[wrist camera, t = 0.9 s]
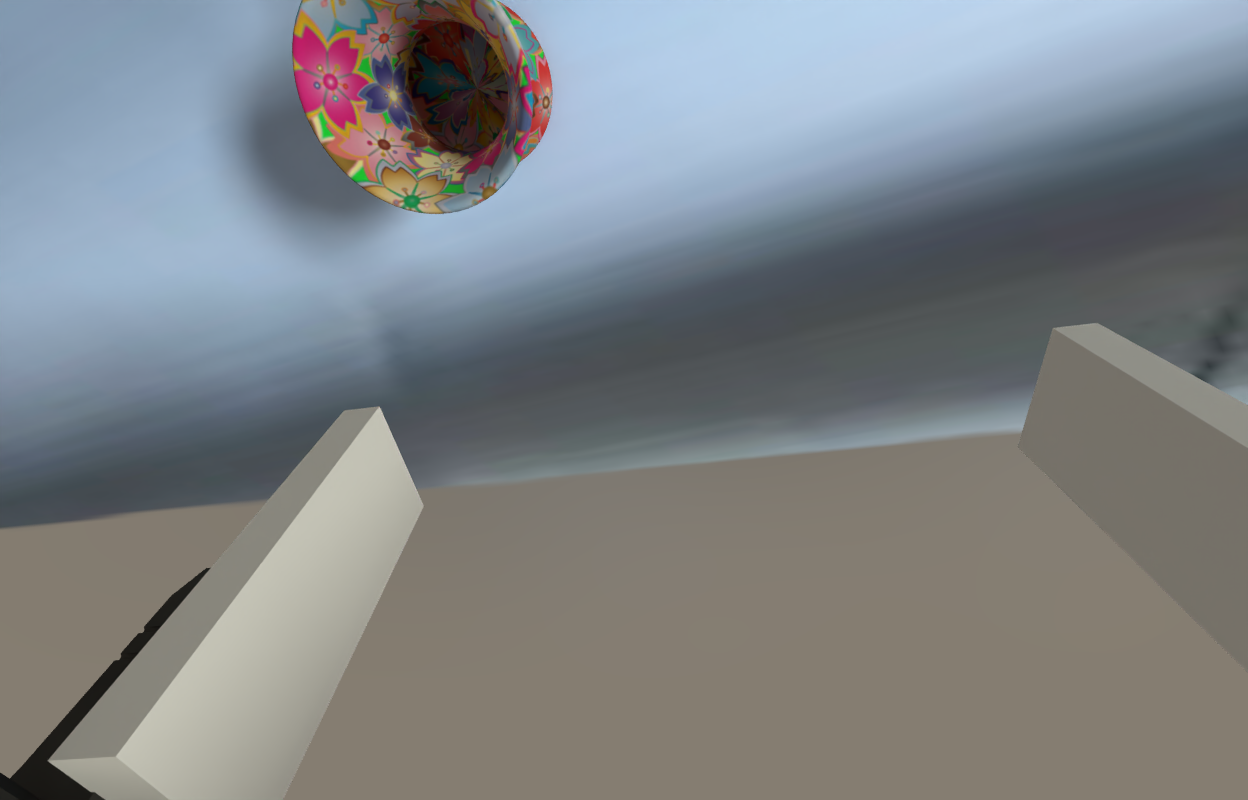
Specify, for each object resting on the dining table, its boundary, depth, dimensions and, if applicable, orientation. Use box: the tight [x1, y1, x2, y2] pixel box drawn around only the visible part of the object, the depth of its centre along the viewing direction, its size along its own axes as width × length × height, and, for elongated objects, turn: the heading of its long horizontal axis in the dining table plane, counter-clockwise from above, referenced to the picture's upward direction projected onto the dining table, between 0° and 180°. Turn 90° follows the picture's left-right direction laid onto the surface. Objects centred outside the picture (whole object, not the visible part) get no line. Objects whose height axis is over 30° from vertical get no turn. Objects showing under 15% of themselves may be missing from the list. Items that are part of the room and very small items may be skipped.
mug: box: [292, 0, 552, 214], centre depth 25 cm, size 12×9×11 cm
